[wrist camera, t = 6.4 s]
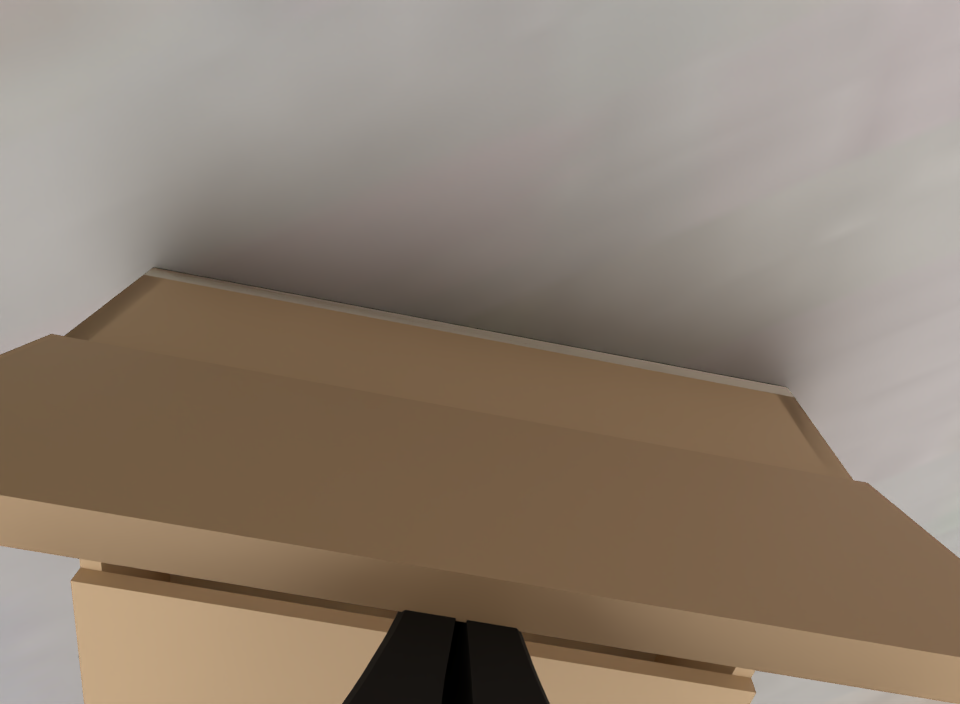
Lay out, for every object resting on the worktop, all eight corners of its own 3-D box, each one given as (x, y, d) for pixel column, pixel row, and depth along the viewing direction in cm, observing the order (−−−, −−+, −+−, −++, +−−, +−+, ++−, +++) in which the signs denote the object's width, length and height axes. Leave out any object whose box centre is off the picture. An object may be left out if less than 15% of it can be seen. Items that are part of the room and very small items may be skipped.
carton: (653, 676, 28) (684, 818, 24) (162, 596, 27) (87, 727, 22) (787, 387, 22) (867, 499, 17) (153, 267, 21) (45, 350, 16)
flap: (1088, 725, 11) (1110, 682, 11) (-239, 505, 10) (-245, 454, 9) (856, 511, 17) (867, 483, 17) (50, 366, 16) (51, 334, 16)
